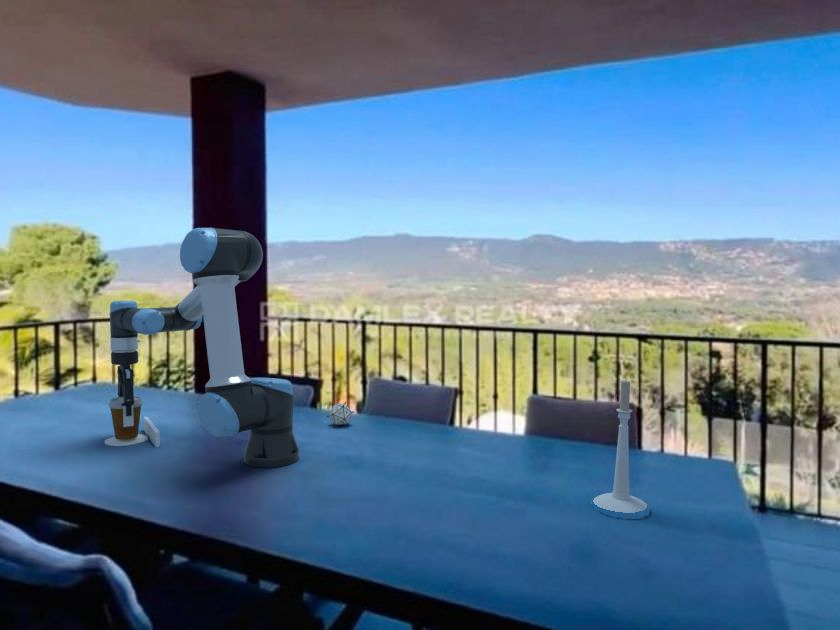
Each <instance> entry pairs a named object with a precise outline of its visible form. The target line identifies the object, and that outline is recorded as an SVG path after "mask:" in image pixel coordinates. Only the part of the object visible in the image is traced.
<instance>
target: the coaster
mask: <svg viewBox="0 0 840 630" xmlns="http://www.w3.org/2000/svg"><path fill="white" fill-rule="evenodd" d="M148 439H149V437H148V436H147V434H142V433H141V434H140V433H138V436H137V437H136V438H133V439H127V440H119V439H116V438H115V435H114V436H111V437H108V438H107V439H105V440H104V444H105V445H106V446H110V447H126V446H135V445H138V444H142V443H145V442H146V441H148Z"/></svg>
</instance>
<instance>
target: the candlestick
mask: <svg viewBox="0 0 840 630" xmlns="http://www.w3.org/2000/svg"><path fill="white" fill-rule="evenodd" d="M630 392H631V381H629V380H627V379H625V380H620V394H619V395H620V396H619V401H620V402H619V408H616V409H615V410H616V412H617V413H618V415H617V418H618V419H619V425H618V434H617V447H616V459H615V467H614V479H613V487H612V488H613V489H612V492H607V493H603V494H599V495H597V496H595V497H594V498H593V499H594V500H593V499H592V500H593V502H594V504H595V505H597V506H598V507H600V508H603V509H606V510H610V511H615V512H623V513H635V512H639V511H643V510H645V509H646V508H647V505H648V504H647V503H646V502H645V501H644V500H642V499H641V498H638V497H636V496H634V495H631V494H630V462H629V458H630V457H629V454H630V452H629V451H630V449H629V425H628V422H629V420H630V419H631V413H633V409H630Z"/></svg>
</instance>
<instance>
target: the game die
mask: <svg viewBox="0 0 840 630" xmlns="http://www.w3.org/2000/svg"><path fill="white" fill-rule="evenodd" d="M331 405H332V407H331V409H330V411H329V415H326V418H329V419H330V420H331V422H333V423H334V428H336V427H337V426H341V425H347V426H350V424H349V421H350V418H351V416H352V414H353V413H355V411H353V410H351V409H350V408H349V406H348V405H347V402H346V401H345V402H344V403H336V404H334V403H333V402H331Z"/></svg>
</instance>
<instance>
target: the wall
mask: <svg viewBox="0 0 840 630" xmlns="http://www.w3.org/2000/svg"><path fill="white" fill-rule="evenodd" d="M143 431H144V433H145V435H146V436H147V437H148V439H149V440H150V441H151V442H152V444H153V445H154V447H155V448H160V447H161V432H160V430H159V429H158V427H156V425H155V424H154V423H153V422H152V420H151V419H150V418H149V417H148V416H143Z"/></svg>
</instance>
